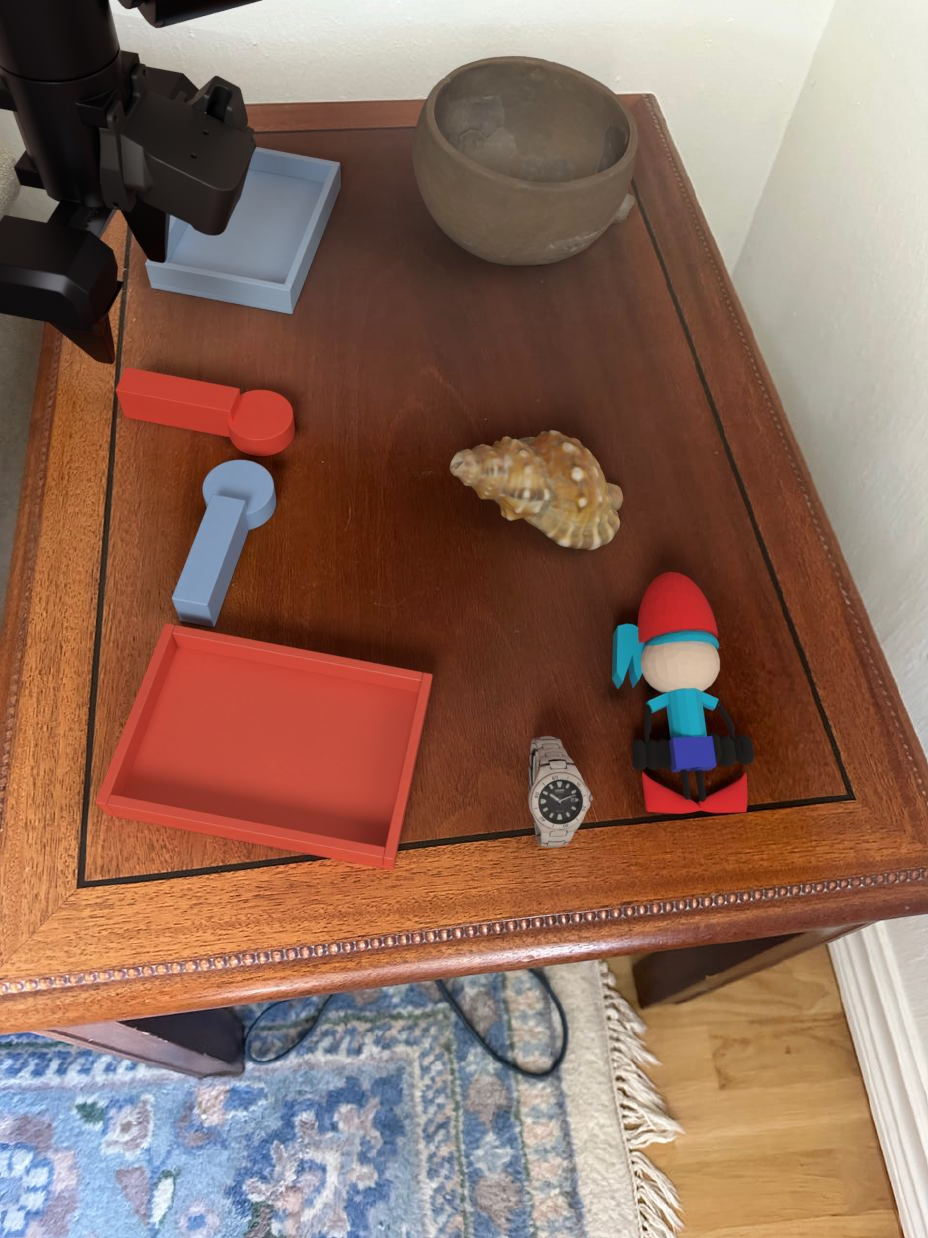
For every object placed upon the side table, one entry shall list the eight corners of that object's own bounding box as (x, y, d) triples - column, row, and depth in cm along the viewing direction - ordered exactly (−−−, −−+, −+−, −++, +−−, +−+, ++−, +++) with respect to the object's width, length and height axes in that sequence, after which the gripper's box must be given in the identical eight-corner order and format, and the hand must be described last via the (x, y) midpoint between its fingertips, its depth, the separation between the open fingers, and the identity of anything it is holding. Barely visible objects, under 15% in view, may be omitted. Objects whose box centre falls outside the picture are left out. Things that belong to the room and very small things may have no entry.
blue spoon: (233, 631, 56) (226, 609, 54) (160, 617, 56) (151, 594, 54) (284, 483, 62) (280, 456, 60) (218, 470, 62) (212, 444, 60)
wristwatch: (522, 855, 51) (536, 830, 46) (511, 752, 54) (523, 719, 49) (583, 853, 51) (602, 827, 47) (569, 750, 54) (586, 717, 50)
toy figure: (749, 815, 55) (713, 585, 60) (776, 804, 50) (736, 555, 55) (625, 821, 54) (600, 590, 59) (641, 811, 50) (612, 561, 55)
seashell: (524, 598, 63) (465, 517, 55) (493, 517, 68) (434, 432, 60) (645, 537, 61) (602, 445, 53) (604, 458, 66) (559, 363, 58)
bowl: (654, 234, 79) (689, 123, 70) (520, 330, 71) (540, 220, 63) (508, 139, 83) (524, 24, 75) (369, 220, 76) (368, 103, 68)
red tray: (106, 815, 50) (94, 802, 48) (172, 640, 55) (165, 622, 53) (393, 870, 50) (394, 860, 48) (430, 690, 55) (433, 673, 53)
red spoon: (118, 430, 63) (108, 402, 61) (141, 383, 65) (132, 354, 63) (285, 462, 63) (281, 435, 60) (302, 413, 65) (299, 385, 63)
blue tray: (292, 314, 70) (289, 290, 68) (151, 287, 70) (144, 263, 68) (341, 186, 78) (340, 162, 76) (214, 163, 78) (210, 137, 76)
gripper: (157, 201, 38) (214, 446, 51) (277, -21, 47) (299, 236, 61) (-103, 152, 38) (22, 410, 51) (68, -59, 47) (136, 206, 61)
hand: (133, 308), depth 56 cm, fingers open, 9 cm apart
